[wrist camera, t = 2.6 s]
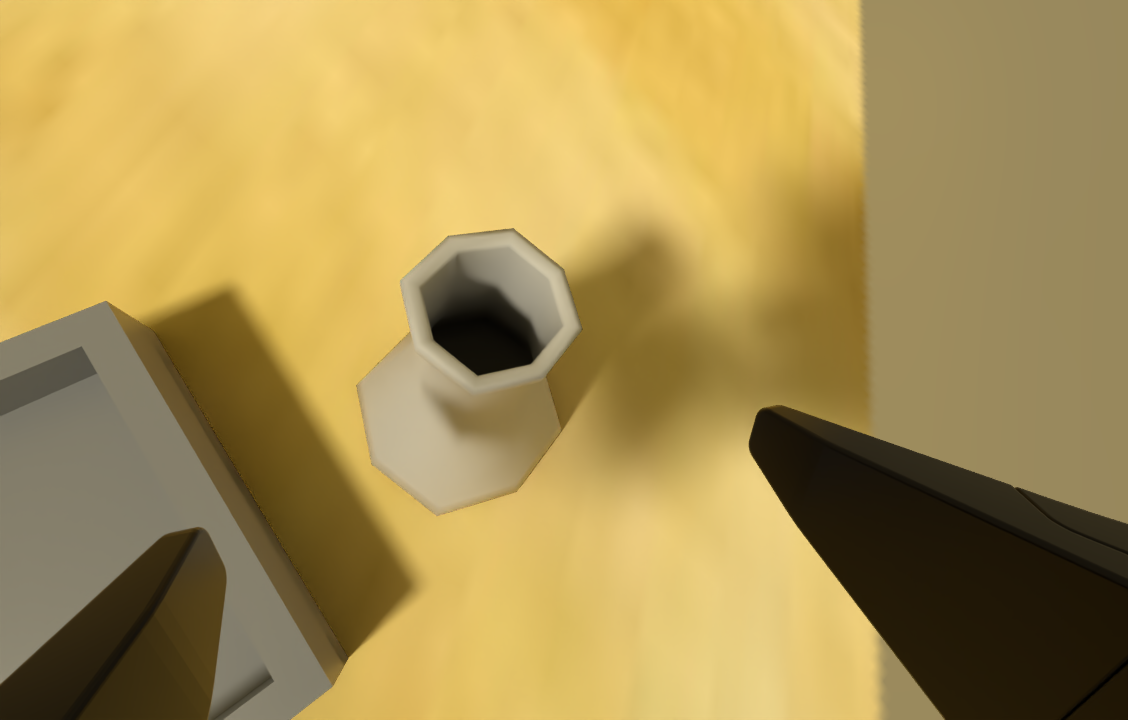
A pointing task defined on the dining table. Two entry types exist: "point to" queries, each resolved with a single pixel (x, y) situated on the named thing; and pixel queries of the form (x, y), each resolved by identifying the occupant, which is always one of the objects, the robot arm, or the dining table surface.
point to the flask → (470, 371)
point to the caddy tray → (138, 508)
